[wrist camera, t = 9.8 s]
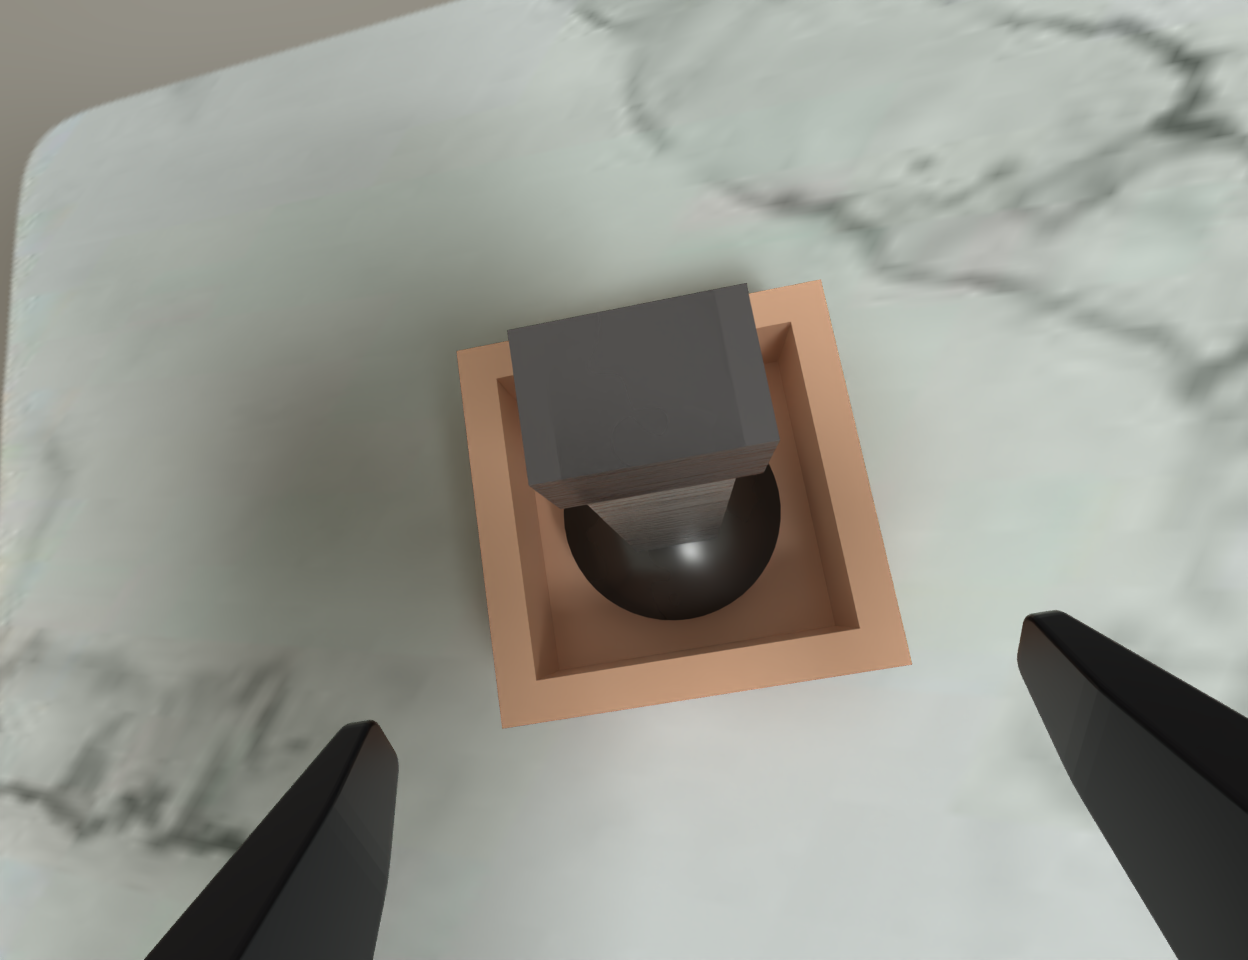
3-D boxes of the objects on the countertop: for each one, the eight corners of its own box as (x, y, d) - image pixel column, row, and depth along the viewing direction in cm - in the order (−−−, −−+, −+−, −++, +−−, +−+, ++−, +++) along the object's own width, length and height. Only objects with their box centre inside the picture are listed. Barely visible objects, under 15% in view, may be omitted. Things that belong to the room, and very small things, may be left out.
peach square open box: (870, 653, 20) (912, 664, 16) (538, 705, 21) (502, 728, 17) (798, 337, 22) (821, 279, 18) (497, 394, 23) (456, 350, 19)
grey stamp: (793, 601, 20) (955, 591, 7) (588, 634, 20) (424, 677, 8) (752, 402, 21) (833, 114, 9) (560, 438, 21) (378, 211, 9)
